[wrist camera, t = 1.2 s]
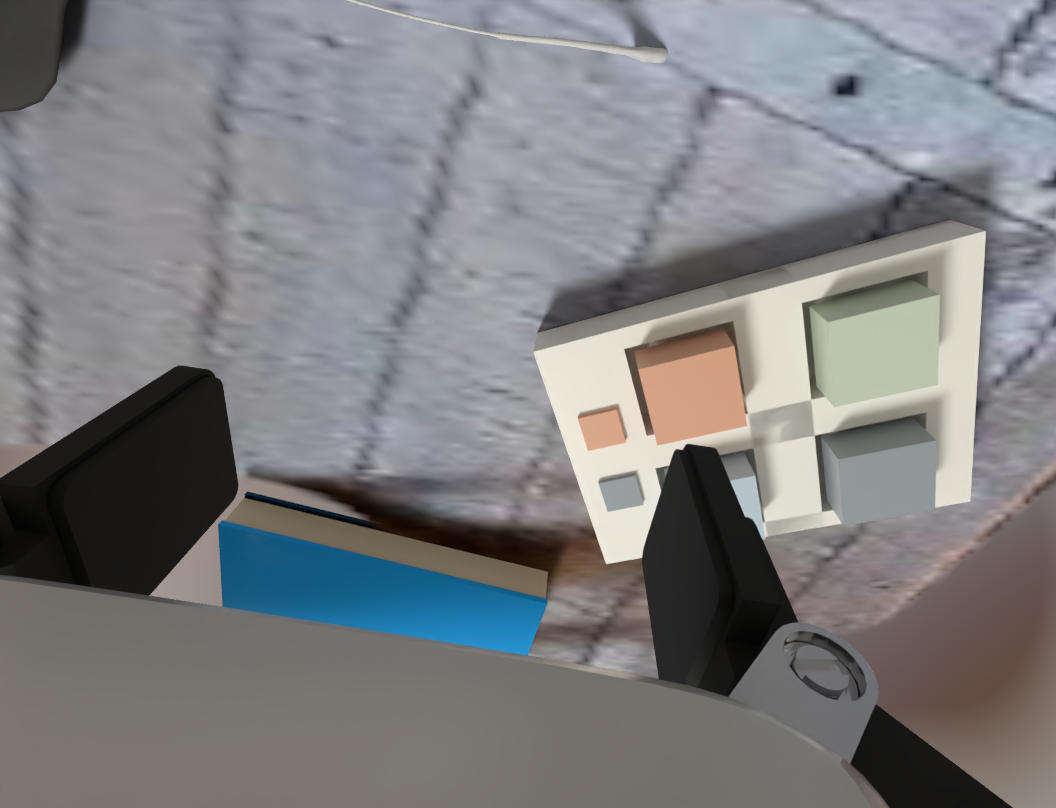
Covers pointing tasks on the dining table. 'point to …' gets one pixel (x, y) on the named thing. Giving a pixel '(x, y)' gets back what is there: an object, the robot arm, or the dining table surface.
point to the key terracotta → (692, 387)
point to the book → (373, 578)
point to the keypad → (764, 382)
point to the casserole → (29, 50)
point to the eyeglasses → (554, 40)
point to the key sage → (876, 343)
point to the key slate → (880, 471)
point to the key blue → (743, 487)
